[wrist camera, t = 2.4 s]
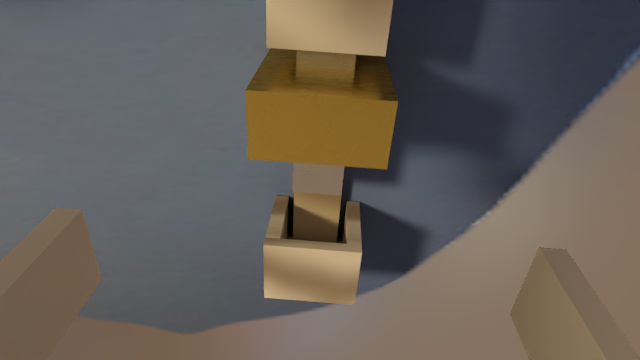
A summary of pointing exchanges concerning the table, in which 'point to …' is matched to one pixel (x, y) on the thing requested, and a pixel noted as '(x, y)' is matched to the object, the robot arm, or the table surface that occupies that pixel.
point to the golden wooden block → (321, 115)
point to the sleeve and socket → (312, 209)
